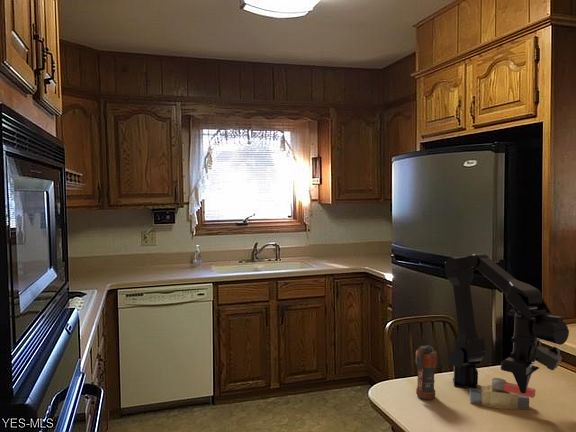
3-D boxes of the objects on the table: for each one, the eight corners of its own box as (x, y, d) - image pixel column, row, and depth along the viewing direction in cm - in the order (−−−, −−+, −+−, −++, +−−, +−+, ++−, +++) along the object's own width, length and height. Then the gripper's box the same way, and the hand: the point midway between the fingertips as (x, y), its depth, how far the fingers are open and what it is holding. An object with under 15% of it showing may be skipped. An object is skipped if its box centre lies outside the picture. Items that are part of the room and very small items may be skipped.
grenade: (408, 398, 139) (409, 347, 138) (421, 390, 144) (422, 341, 144) (427, 404, 135) (428, 351, 134) (440, 396, 140) (440, 345, 140)
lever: (490, 388, 135) (490, 380, 135) (494, 384, 137) (494, 377, 137) (532, 399, 128) (532, 391, 127) (536, 395, 130) (536, 387, 130)
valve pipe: (470, 404, 135) (471, 389, 134) (469, 397, 140) (469, 382, 139) (529, 411, 131) (530, 395, 130) (526, 403, 136) (526, 388, 135)
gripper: (548, 347, 117) (545, 411, 117) (568, 335, 131) (565, 393, 131) (501, 337, 125) (498, 398, 125) (524, 327, 138) (522, 382, 138)
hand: (522, 392), depth 129 cm, fingers closed
